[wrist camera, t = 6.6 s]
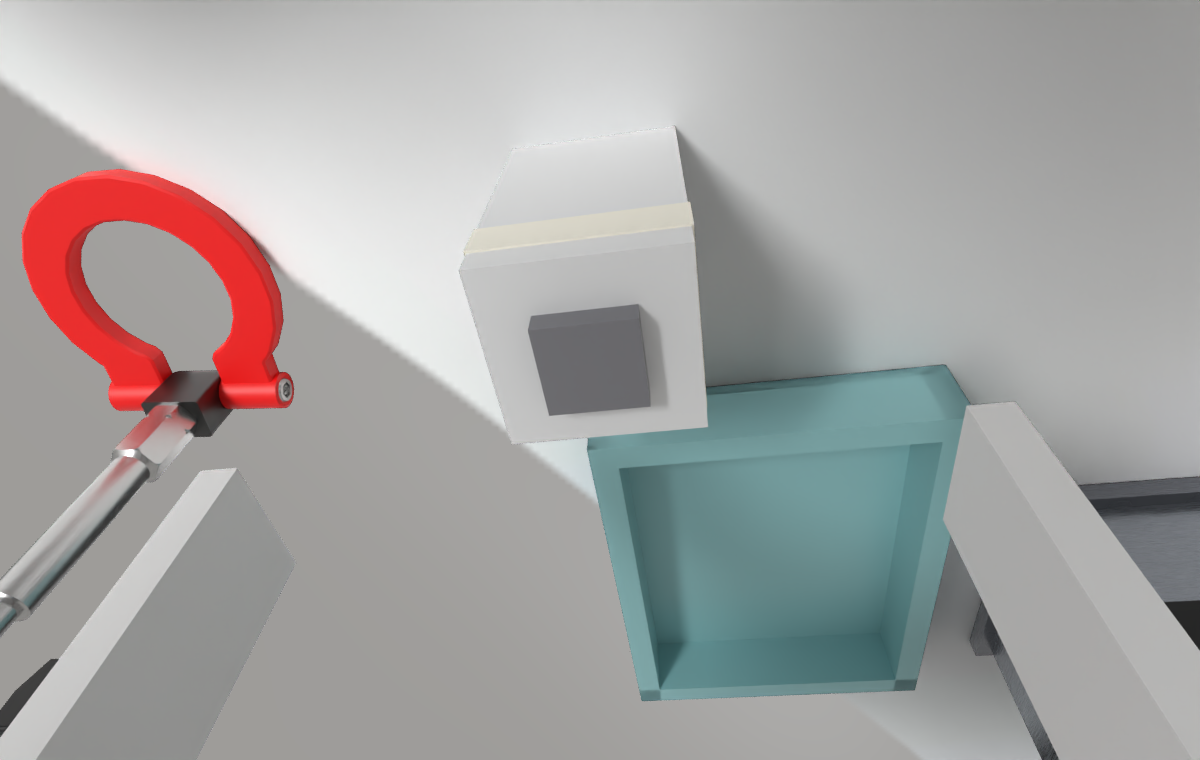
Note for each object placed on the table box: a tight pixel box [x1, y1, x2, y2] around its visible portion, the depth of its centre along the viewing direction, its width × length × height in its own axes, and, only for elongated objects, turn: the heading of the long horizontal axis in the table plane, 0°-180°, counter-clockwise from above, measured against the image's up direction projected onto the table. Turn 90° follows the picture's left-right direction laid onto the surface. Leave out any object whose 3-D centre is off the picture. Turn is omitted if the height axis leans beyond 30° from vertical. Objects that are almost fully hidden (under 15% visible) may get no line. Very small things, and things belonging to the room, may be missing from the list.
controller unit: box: [970, 477, 1200, 760], centre depth 26 cm, size 11×9×14 cm
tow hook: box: [0, 169, 294, 637], centre depth 19 cm, size 8×13×9 cm
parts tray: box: [587, 365, 971, 701], centre depth 30 cm, size 17×13×3 cm
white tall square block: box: [459, 126, 708, 444], centre depth 19 cm, size 5×5×9 cm
